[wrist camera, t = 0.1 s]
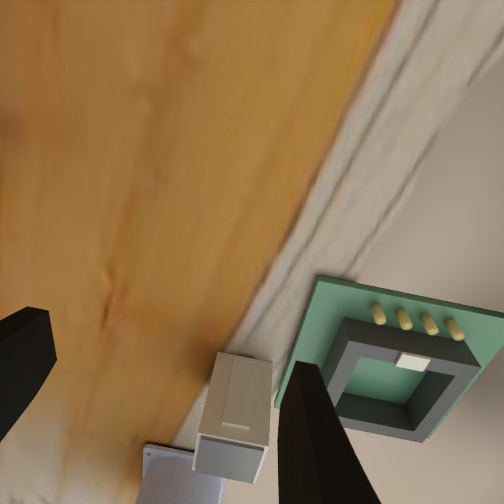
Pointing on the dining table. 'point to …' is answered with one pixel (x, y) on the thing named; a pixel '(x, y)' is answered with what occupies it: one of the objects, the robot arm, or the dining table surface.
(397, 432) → the header socket
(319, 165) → the dining table surface
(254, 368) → the plug
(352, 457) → the robot arm
